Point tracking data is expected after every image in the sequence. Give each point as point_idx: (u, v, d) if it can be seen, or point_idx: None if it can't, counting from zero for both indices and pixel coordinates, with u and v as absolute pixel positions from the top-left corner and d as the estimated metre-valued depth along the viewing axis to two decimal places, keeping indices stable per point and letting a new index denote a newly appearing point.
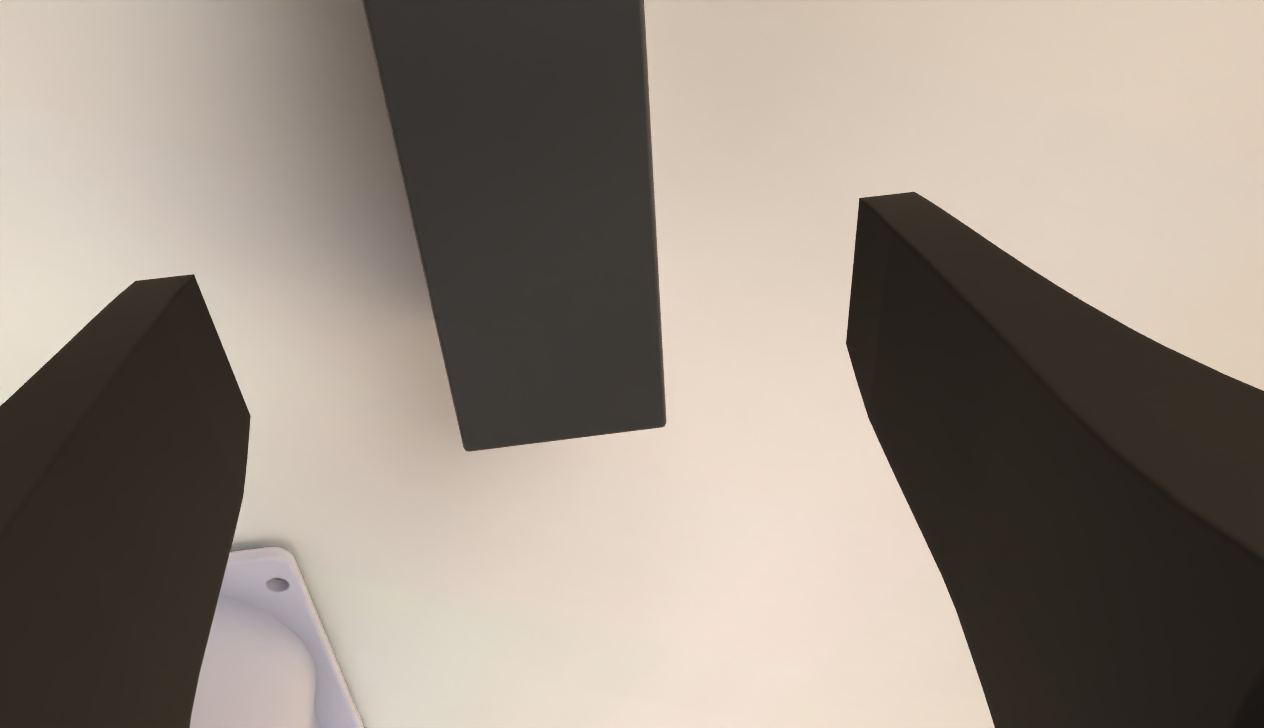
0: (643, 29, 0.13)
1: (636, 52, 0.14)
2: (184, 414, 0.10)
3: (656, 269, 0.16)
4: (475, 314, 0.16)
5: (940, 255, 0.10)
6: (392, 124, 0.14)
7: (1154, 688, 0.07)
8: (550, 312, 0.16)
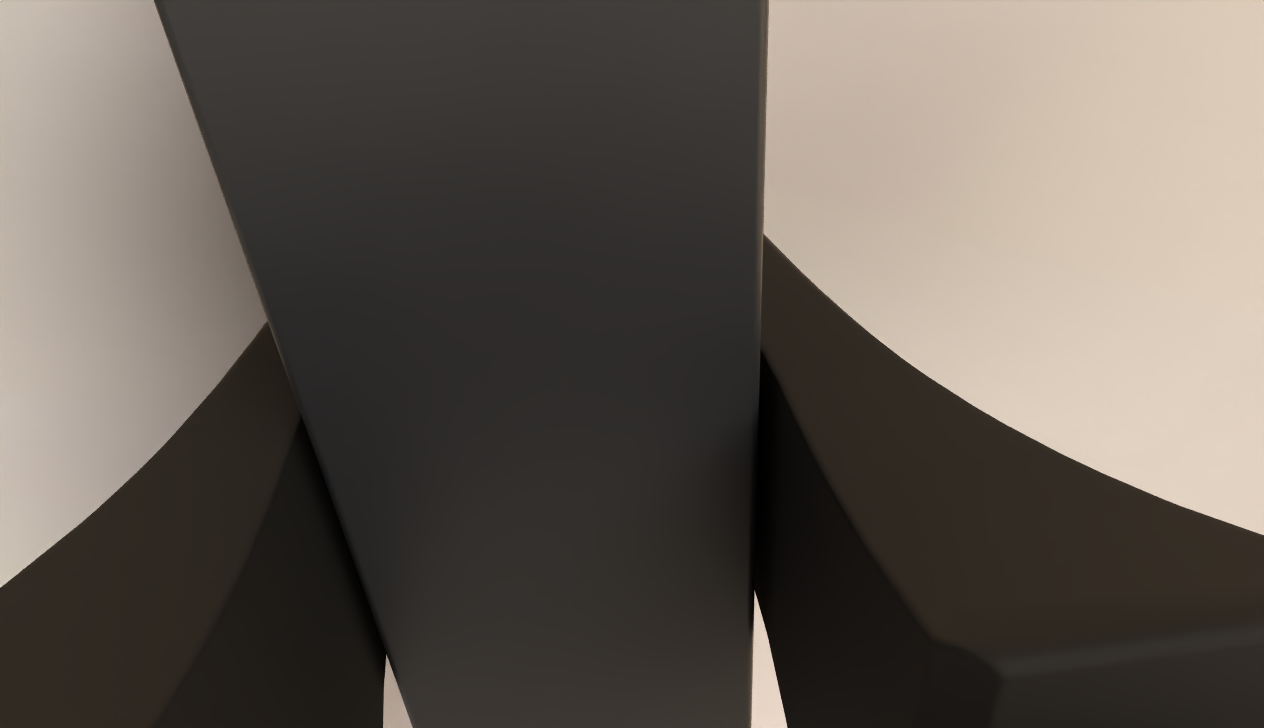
0: (757, 387, 0.08)
1: (743, 417, 0.08)
2: None
3: (750, 667, 0.10)
4: None
5: None
6: (342, 525, 0.08)
7: None
8: (589, 723, 0.11)
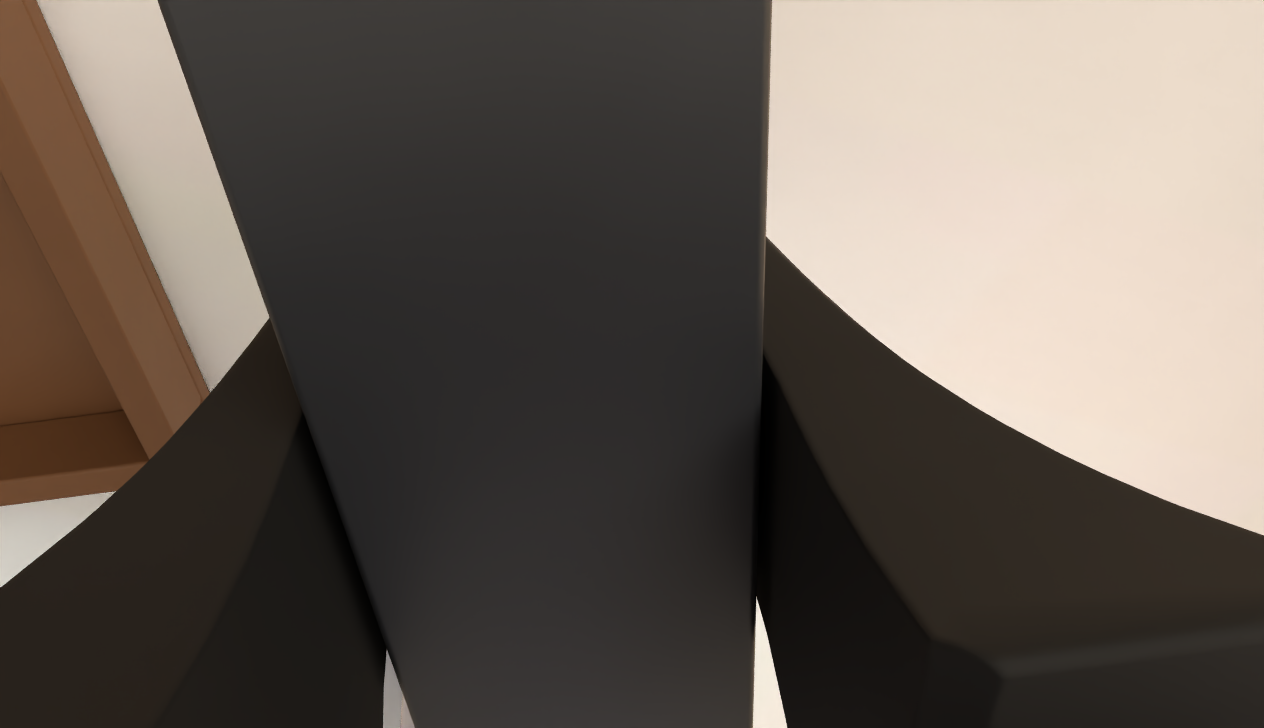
0: (759, 383, 0.08)
1: (745, 413, 0.08)
2: None
3: (752, 664, 0.10)
4: None
5: None
6: (343, 521, 0.08)
7: None
8: (591, 720, 0.11)
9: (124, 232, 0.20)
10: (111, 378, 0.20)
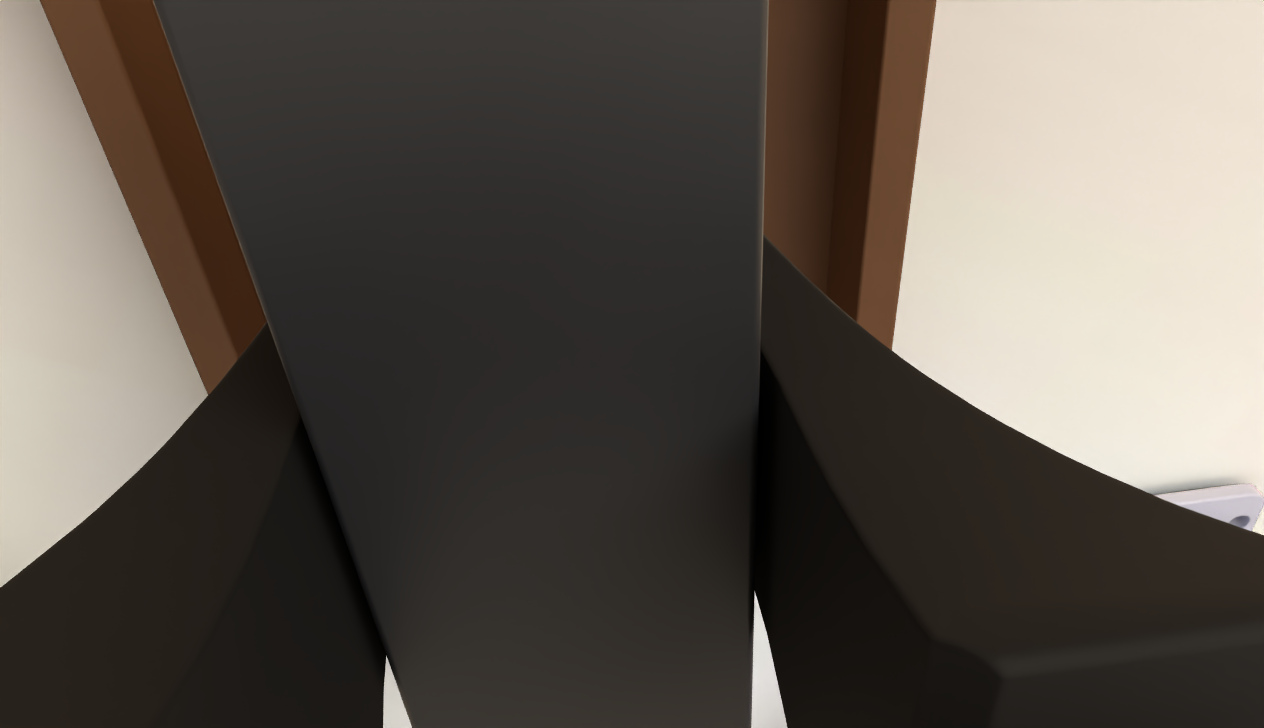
0: (757, 379, 0.08)
1: (743, 409, 0.08)
2: None
3: (750, 662, 0.10)
4: (475, 727, 0.10)
5: None
6: (339, 518, 0.08)
7: None
8: (588, 719, 0.11)
9: None
10: None
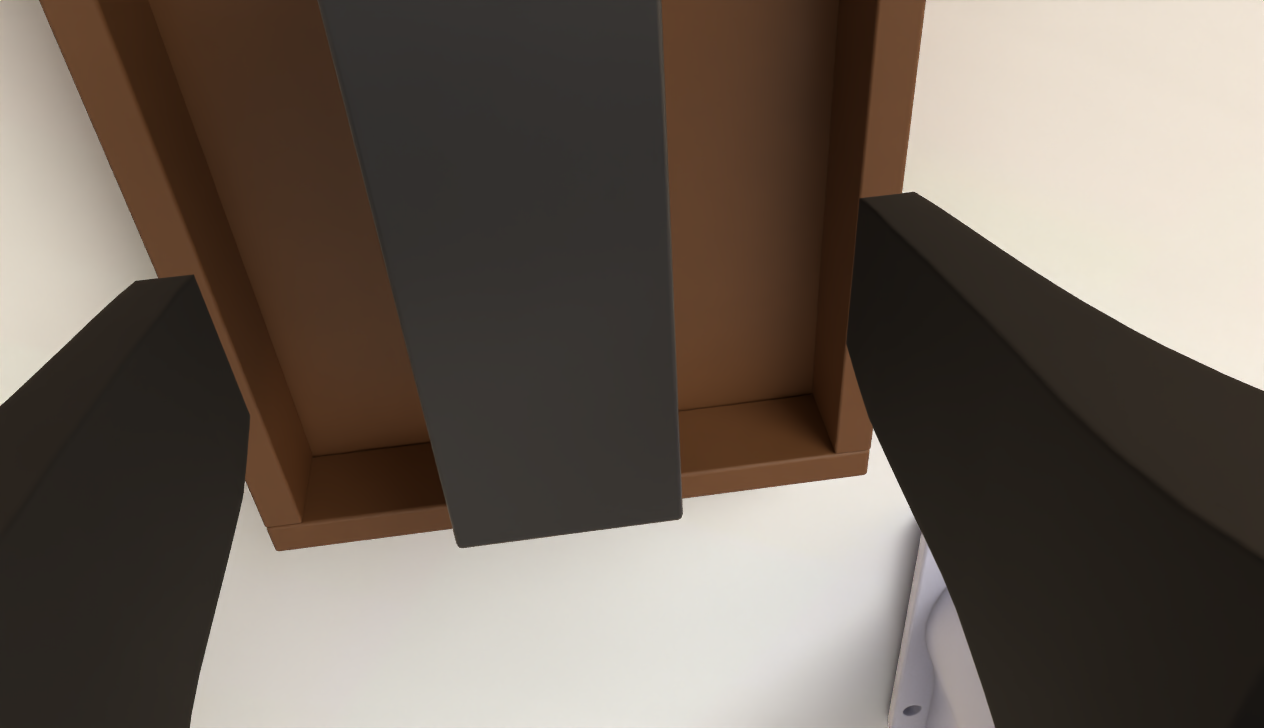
0: (663, 95, 0.11)
1: (654, 121, 0.12)
2: (184, 414, 0.10)
3: (674, 355, 0.14)
4: (469, 406, 0.14)
5: (940, 255, 0.10)
6: (371, 203, 0.12)
7: (1157, 688, 0.07)
8: (553, 403, 0.14)
9: None
10: (848, 365, 0.19)
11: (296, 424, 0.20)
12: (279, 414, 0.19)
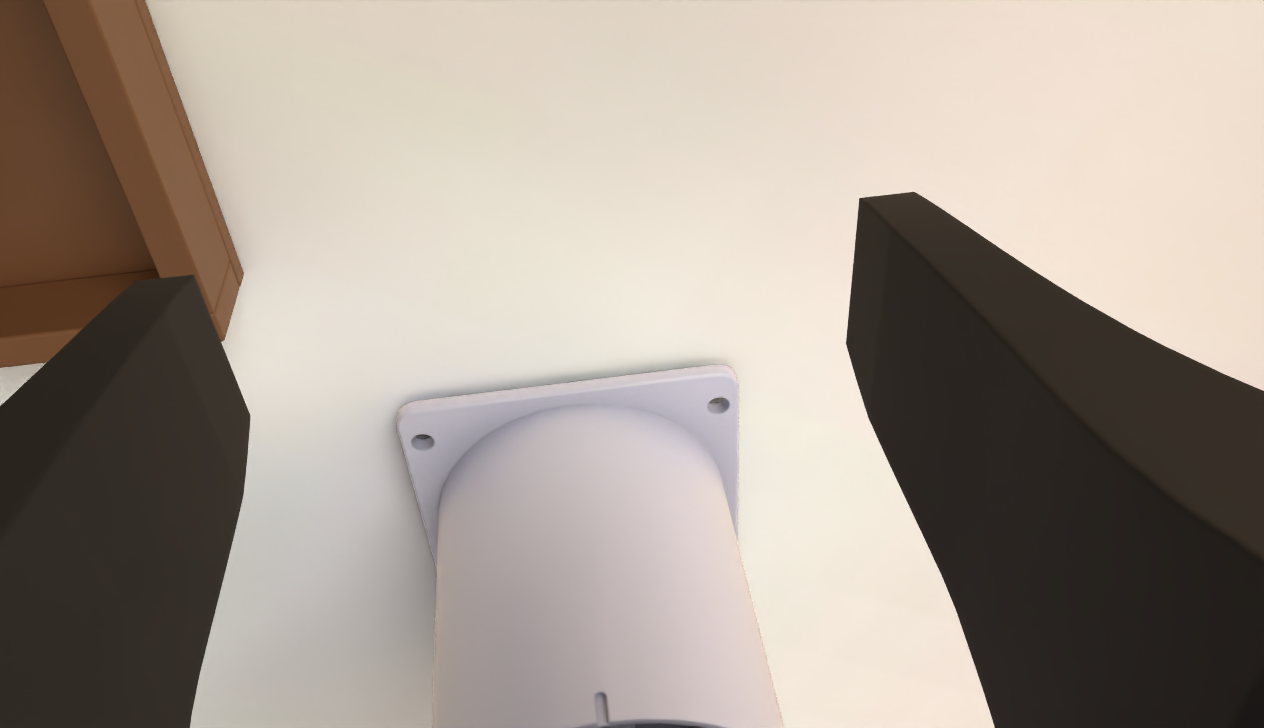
0: None
1: None
2: (184, 413, 0.10)
3: None
4: None
5: (941, 255, 0.10)
6: None
7: (1155, 688, 0.07)
8: None
9: (153, 57, 0.18)
10: (138, 215, 0.18)
11: None
12: None
